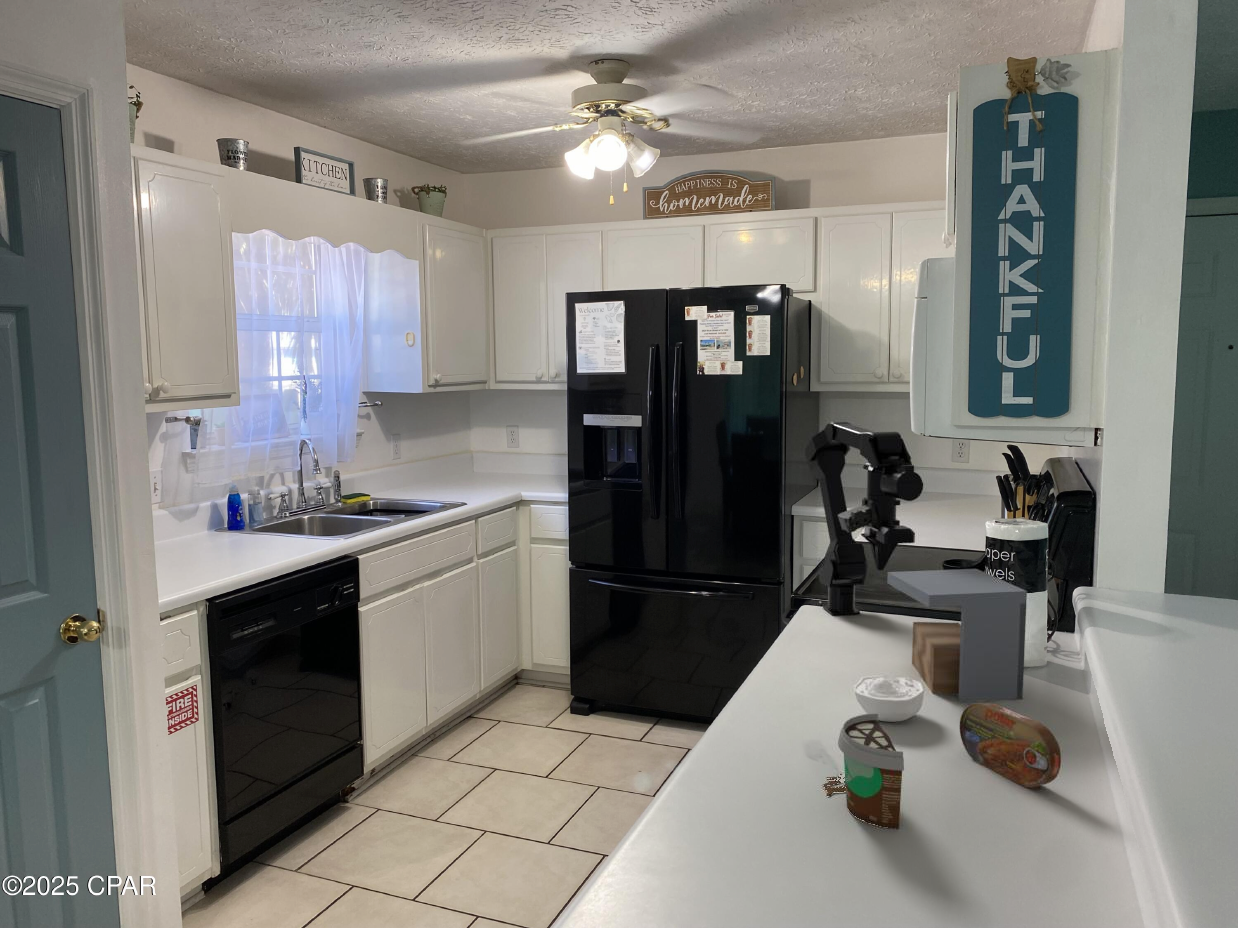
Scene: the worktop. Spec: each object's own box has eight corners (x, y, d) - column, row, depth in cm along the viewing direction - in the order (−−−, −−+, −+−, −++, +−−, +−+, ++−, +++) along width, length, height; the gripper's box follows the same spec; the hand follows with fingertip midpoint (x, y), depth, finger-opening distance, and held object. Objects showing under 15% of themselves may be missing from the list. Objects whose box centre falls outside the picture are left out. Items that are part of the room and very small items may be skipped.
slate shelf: (885, 670, 158) (887, 572, 156) (972, 665, 160) (976, 568, 158) (926, 704, 142) (929, 595, 140) (1022, 698, 144) (1026, 591, 142)
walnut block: (911, 664, 162) (913, 621, 161) (957, 665, 161) (958, 622, 160) (932, 694, 147) (933, 647, 146) (982, 695, 146) (983, 649, 145)
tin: (956, 752, 125) (958, 694, 124) (973, 748, 126) (975, 691, 125) (1045, 799, 111) (1048, 735, 110) (1063, 794, 112) (1066, 730, 111)
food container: (827, 785, 115) (828, 711, 114) (875, 785, 115) (876, 711, 114) (849, 835, 103) (850, 753, 102) (902, 835, 103) (904, 753, 102)
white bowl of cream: (939, 717, 137) (940, 674, 136) (894, 737, 130) (895, 693, 129) (883, 698, 145) (884, 658, 144) (838, 717, 138) (838, 675, 137)
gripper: (826, 488, 186) (825, 561, 188) (861, 502, 167) (859, 582, 169) (877, 487, 187) (876, 559, 189) (917, 500, 169) (915, 580, 170)
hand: (880, 569), depth 179 cm, fingers closed
